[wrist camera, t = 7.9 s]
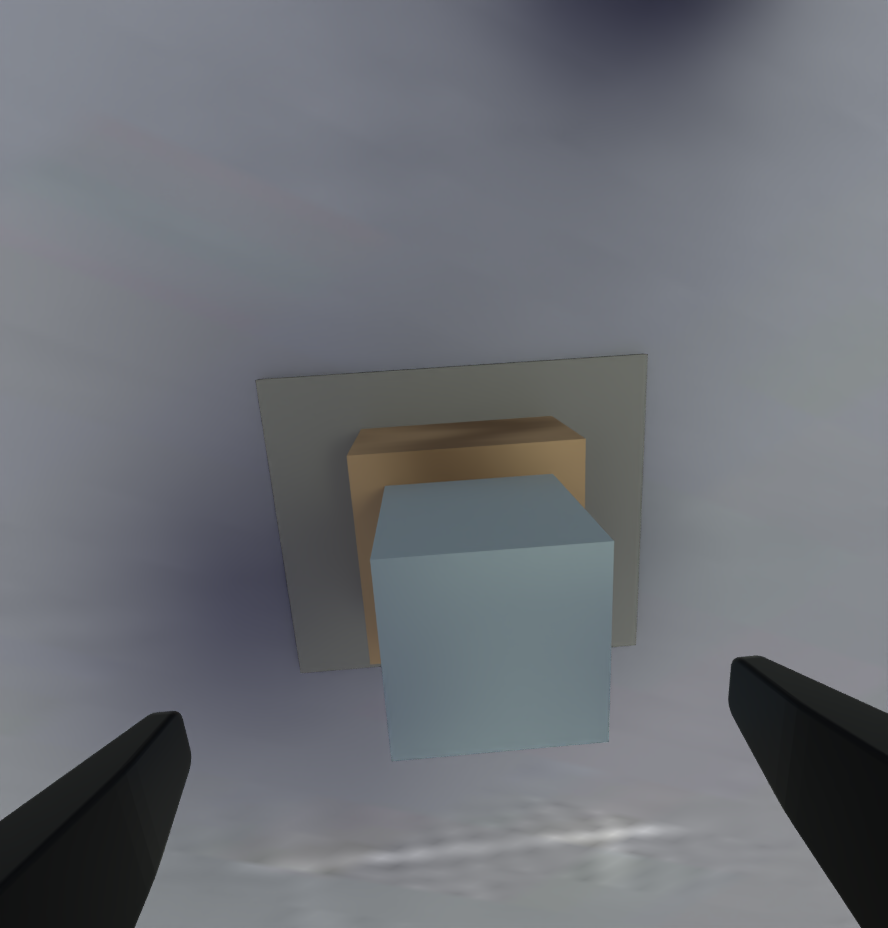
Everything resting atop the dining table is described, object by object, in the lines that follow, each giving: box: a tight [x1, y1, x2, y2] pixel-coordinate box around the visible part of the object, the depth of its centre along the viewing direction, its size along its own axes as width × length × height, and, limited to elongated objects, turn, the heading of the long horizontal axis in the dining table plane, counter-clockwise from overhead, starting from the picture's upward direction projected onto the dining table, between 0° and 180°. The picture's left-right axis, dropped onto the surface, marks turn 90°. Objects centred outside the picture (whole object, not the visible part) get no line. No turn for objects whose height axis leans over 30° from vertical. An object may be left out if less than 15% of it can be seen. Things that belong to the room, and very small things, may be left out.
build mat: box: [255, 354, 648, 673], centre depth 20 cm, size 14×12×1 cm
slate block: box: [370, 474, 614, 761], centre depth 14 cm, size 5×5×5 cm
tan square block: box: [347, 416, 586, 665], centre depth 18 cm, size 7×7×4 cm
